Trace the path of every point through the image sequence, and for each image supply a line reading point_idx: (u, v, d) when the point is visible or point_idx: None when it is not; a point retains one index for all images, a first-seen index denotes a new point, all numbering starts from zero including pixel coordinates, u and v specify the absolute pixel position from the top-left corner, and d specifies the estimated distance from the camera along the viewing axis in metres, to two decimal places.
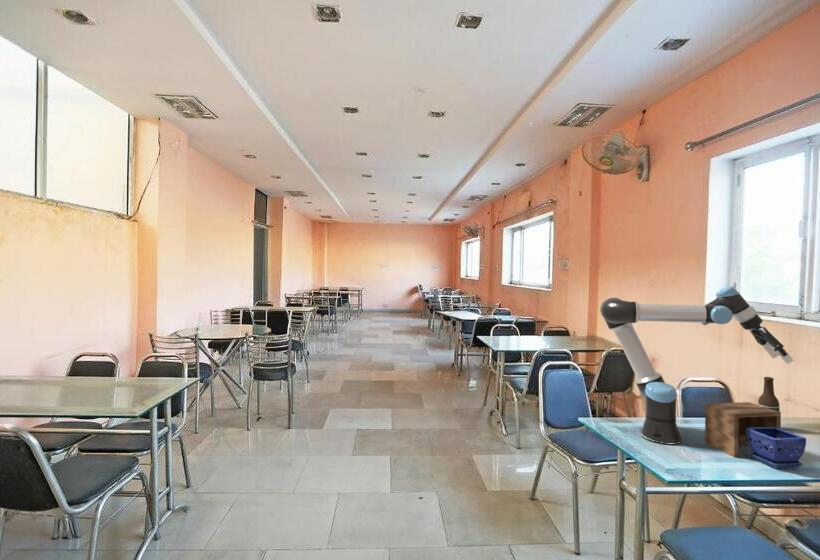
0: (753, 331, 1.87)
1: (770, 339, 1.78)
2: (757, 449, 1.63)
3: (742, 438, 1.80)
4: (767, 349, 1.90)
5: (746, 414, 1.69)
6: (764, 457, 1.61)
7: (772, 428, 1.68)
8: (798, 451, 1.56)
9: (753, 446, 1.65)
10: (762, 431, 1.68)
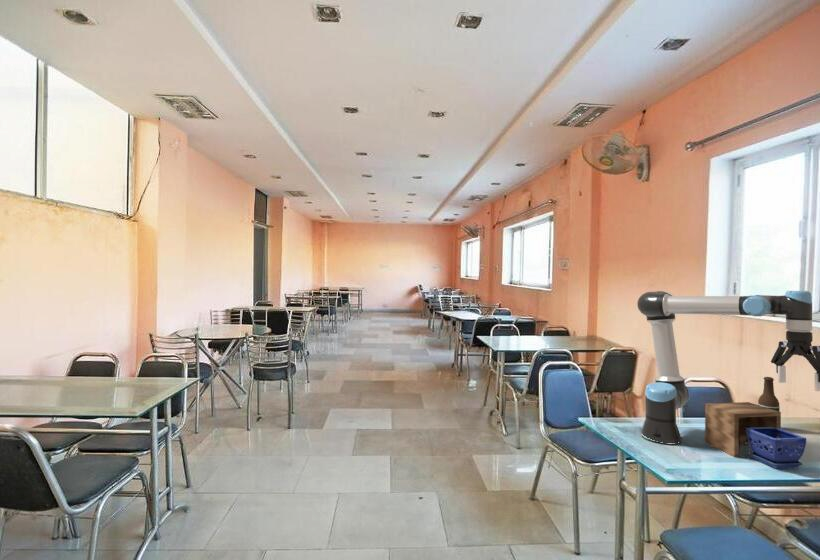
0: (793, 346, 1.64)
1: None
2: (757, 449, 1.63)
3: (742, 438, 1.80)
4: (781, 371, 1.70)
5: (746, 414, 1.69)
6: (764, 457, 1.61)
7: (772, 428, 1.68)
8: (798, 451, 1.56)
9: (753, 446, 1.65)
10: (762, 431, 1.68)
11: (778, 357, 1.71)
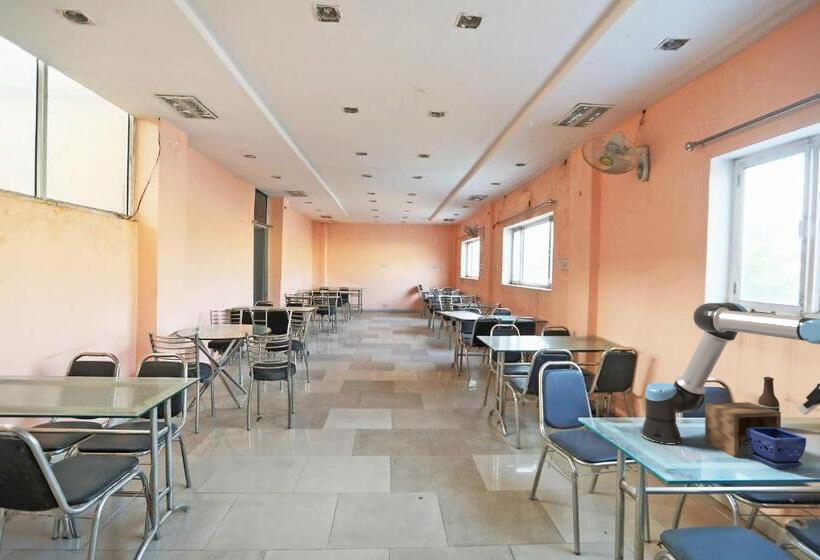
0: None
1: (813, 393, 1.45)
2: (757, 449, 1.63)
3: (742, 438, 1.80)
4: None
5: (746, 414, 1.69)
6: (764, 457, 1.61)
7: (772, 428, 1.68)
8: (798, 451, 1.56)
9: (753, 446, 1.65)
10: (762, 431, 1.68)
11: None
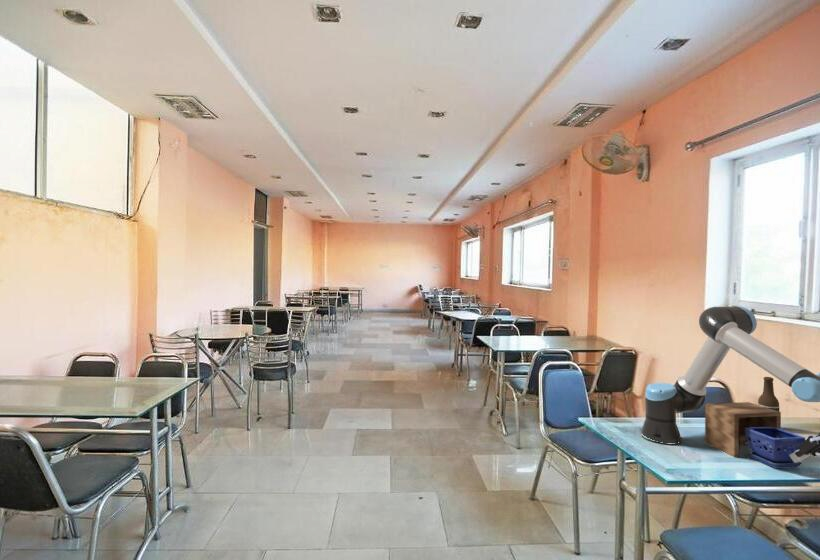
0: None
1: (804, 444, 1.47)
2: (756, 449, 1.64)
3: (742, 438, 1.80)
4: None
5: (746, 414, 1.69)
6: (763, 457, 1.62)
7: (771, 428, 1.69)
8: None
9: (752, 446, 1.65)
10: (761, 431, 1.69)
11: None
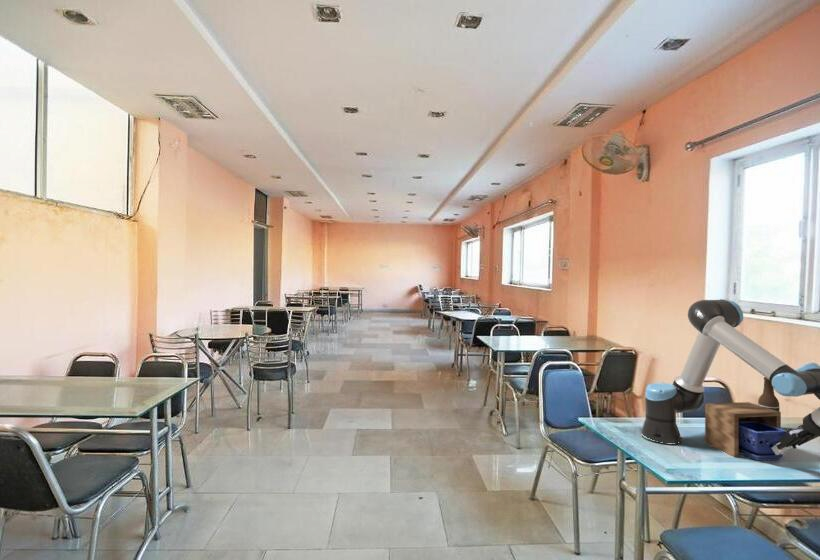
0: None
1: (784, 436, 1.54)
2: (740, 442, 1.70)
3: None
4: None
5: (746, 414, 1.69)
6: (747, 450, 1.68)
7: (755, 422, 1.76)
8: None
9: None
10: (745, 425, 1.75)
11: None
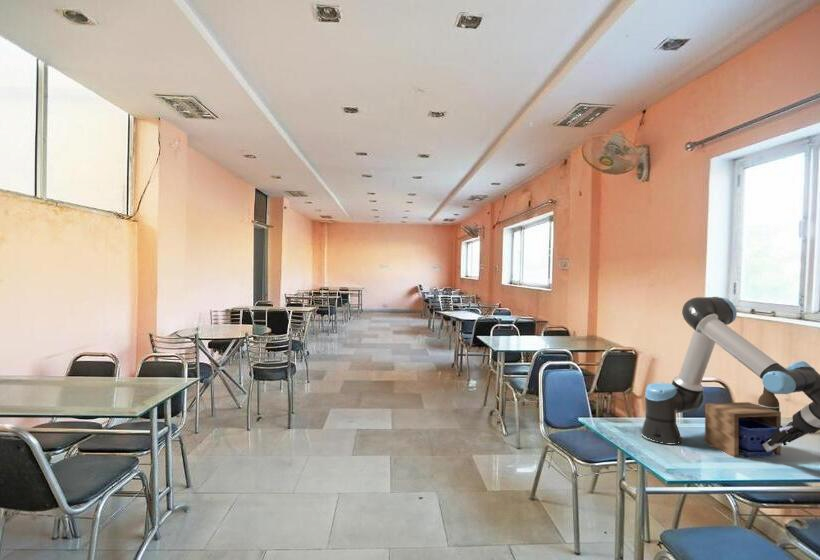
0: None
1: (775, 433, 1.58)
2: None
3: None
4: None
5: (746, 414, 1.69)
6: (739, 446, 1.72)
7: (748, 419, 1.79)
8: None
9: None
10: None
11: None
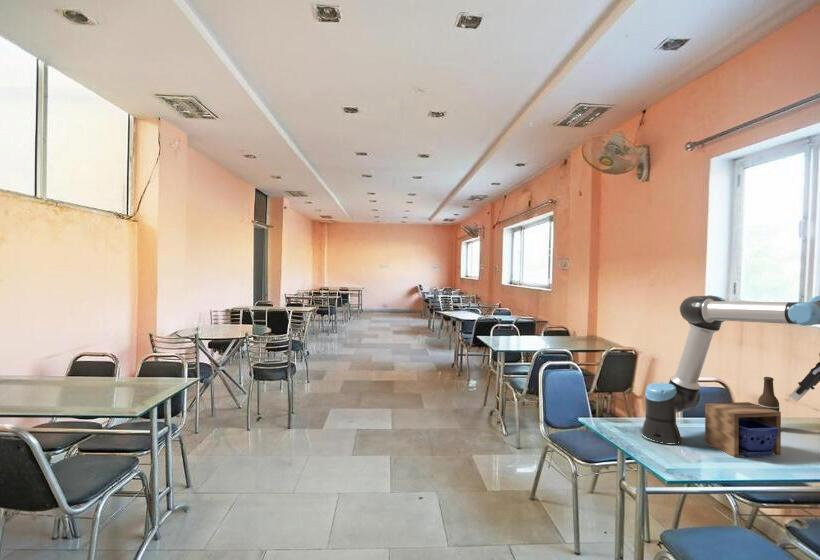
0: None
1: (806, 379, 1.51)
2: None
3: None
4: None
5: (746, 414, 1.69)
6: (739, 446, 1.72)
7: (748, 419, 1.79)
8: (770, 440, 1.67)
9: None
10: None
11: None
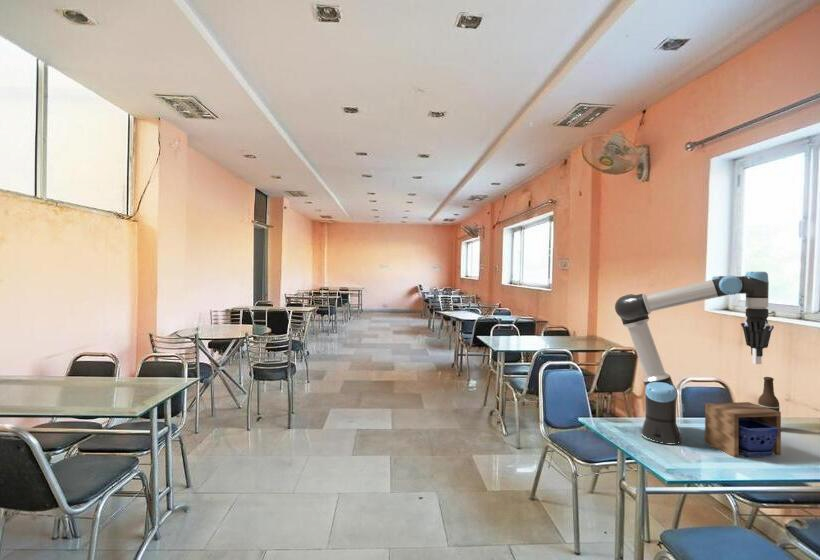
0: (751, 321, 1.81)
1: (766, 338, 1.76)
2: None
3: None
4: None
5: (746, 414, 1.69)
6: (739, 446, 1.72)
7: (748, 419, 1.79)
8: (770, 440, 1.67)
9: None
10: None
11: (749, 338, 1.84)
